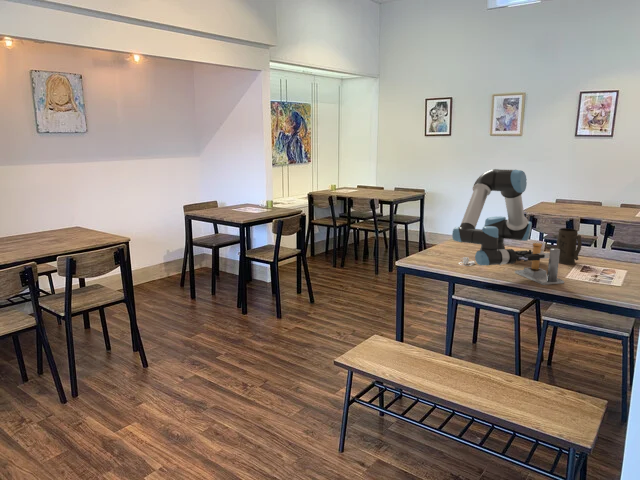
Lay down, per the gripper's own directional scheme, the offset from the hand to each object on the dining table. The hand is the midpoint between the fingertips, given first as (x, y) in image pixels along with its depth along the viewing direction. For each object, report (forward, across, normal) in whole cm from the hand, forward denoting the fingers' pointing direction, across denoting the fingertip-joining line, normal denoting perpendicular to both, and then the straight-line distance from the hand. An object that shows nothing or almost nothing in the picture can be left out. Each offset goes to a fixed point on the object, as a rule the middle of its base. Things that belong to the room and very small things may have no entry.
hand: (545, 254), depth 240 cm
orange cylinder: (-5, 0, -7) cm, 9 cm away
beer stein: (+32, -19, -11) cm, 39 cm away
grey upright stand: (-5, +3, -11) cm, 13 cm away
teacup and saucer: (-26, -28, -12) cm, 40 cm away
